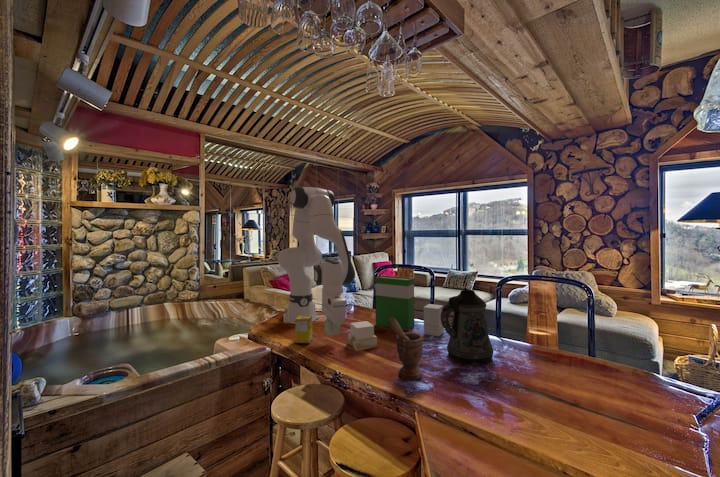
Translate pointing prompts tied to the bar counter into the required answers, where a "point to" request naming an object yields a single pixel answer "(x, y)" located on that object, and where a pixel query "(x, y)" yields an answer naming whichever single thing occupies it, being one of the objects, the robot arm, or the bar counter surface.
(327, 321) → the sage block
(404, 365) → the mortar and pestle
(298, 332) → the supplement box
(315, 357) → the bar counter surface
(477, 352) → the beer stein
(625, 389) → the bar counter surface
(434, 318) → the supplement box
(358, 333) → the tower top
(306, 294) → the robot arm
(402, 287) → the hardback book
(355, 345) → the tower base
